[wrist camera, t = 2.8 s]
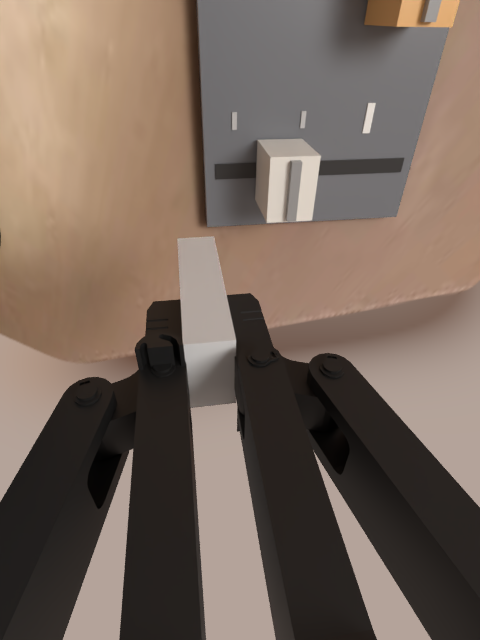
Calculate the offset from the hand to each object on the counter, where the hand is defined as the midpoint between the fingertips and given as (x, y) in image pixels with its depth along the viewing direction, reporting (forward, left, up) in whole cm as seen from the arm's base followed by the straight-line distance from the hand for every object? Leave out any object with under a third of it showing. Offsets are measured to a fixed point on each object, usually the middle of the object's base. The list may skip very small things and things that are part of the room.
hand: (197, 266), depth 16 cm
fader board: (+9, +6, -13) cm, 17 cm away
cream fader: (+6, 0, -12) cm, 14 cm away
